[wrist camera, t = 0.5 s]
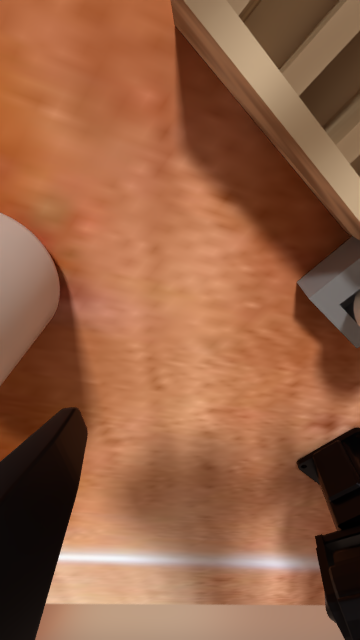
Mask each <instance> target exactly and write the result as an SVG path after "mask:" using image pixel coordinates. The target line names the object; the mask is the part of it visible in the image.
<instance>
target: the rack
mask: <svg viewBox="0 0 360 640" xmlns="http://www.w3.org/2000/svg"><path fill="white" fill-rule="evenodd" d="M171 5H172V12H173V18H174V25H175V26H176V27H177V28H178V30H179V31H180V32H181V33H182V34H183V36H184V37H185V38H186V39H187V40H188V42H189V43H190V44H191V45H192V46H193V48H194V49H195V50H196V51H197V53H198V54H199V55H200V56H201V57H202V59H203V60H204V61H205V62H206V63H207V65H208V66H209V67H210V68H211V69H212V71H213V72H214V73H215V74H216V76H217V77H218V78H219V79H220V80H221V82H222V83H223V84H224V85H225V86H226V88H227V89H228V90H229V91H230V92H231V94H232V95H233V96H234V97H235V98H236V100H237V101H238V102H239V103H240V105H241V106H242V107H243V108H244V109H245V111H246V112H247V113H248V114H249V115H250V117H251V118H252V119H253V120H254V121H255V123H256V124H257V125H258V126H259V127H260V129H261V130H262V131H263V132H264V134H265V135H266V136H267V137H268V138H269V140H270V141H271V142H272V143H273V144H274V146H275V147H276V148H277V149H278V150H279V152H280V153H281V154H282V155H283V156H284V158H285V159H286V160H287V161H288V163H289V164H290V165H291V166H292V167H293V169H294V170H295V171H296V172H297V173H298V175H299V176H300V177H301V178H302V179H303V181H304V182H305V183H306V184H307V185H308V187H309V188H310V189H311V190H312V192H313V193H314V194H315V195H316V196H317V198H318V199H319V200H320V201H321V202H322V204H323V205H324V206H325V207H326V208H327V210H328V211H329V212H330V213H331V215H332V216H333V217H334V218H335V219H336V221H337V222H338V223H339V224H340V225H341V227H342V228H343V229H344V230H345V231H346V232H347V233H348V234H350V235H352V236H353V237H355V238H357V239H358V240H360V0H171Z"/></svg>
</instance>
